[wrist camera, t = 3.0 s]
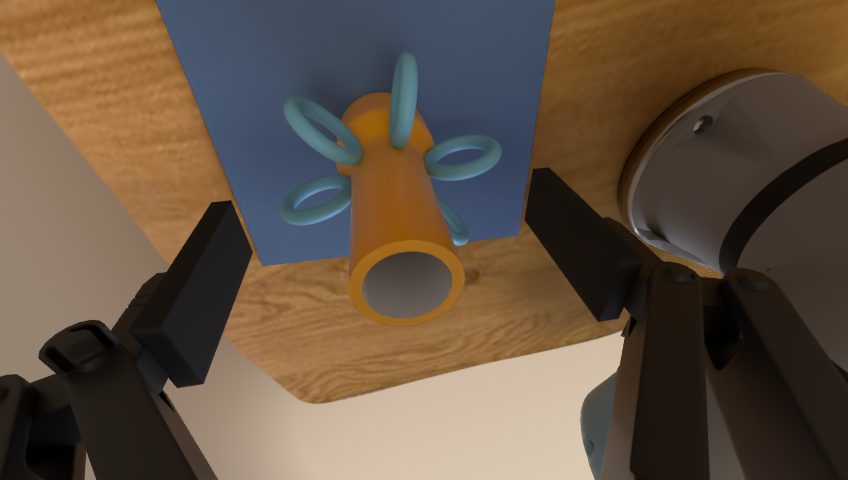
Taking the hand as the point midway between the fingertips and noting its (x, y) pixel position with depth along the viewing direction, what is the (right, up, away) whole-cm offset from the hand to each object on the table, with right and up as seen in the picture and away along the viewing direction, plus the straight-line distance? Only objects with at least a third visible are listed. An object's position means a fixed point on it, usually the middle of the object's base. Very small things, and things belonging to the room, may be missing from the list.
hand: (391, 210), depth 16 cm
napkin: (-1, +6, +8) cm, 11 cm away
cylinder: (-1, +6, +8) cm, 10 cm away
